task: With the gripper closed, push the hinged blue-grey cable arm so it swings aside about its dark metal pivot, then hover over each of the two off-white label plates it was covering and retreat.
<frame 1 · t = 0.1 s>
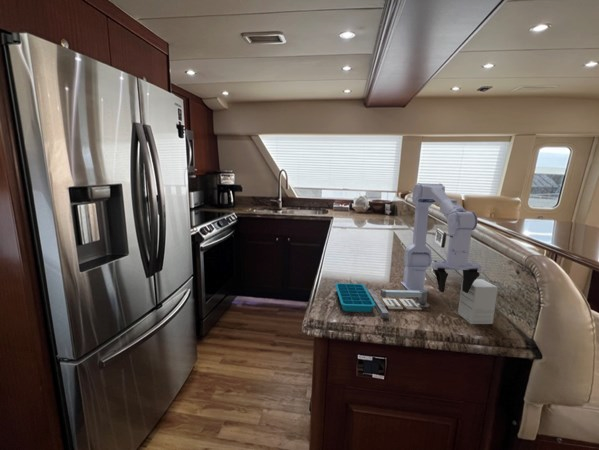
hand: (453, 291, 89), 10 cm above the worktop, fingers open, 7 cm apart
ice cube tray: (353, 301, 104), on the worktop
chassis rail: (376, 304, 101), on the worktop
pivot base: (422, 304, 102), on the worktop
psu label 1: (392, 304, 102), on the worktop
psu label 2: (409, 304, 102), on the worktop
cable arm: (403, 296, 102), point 3 cm above the worktop, hinge at 0.0°
supplement box: (474, 319, 92), on the worktop
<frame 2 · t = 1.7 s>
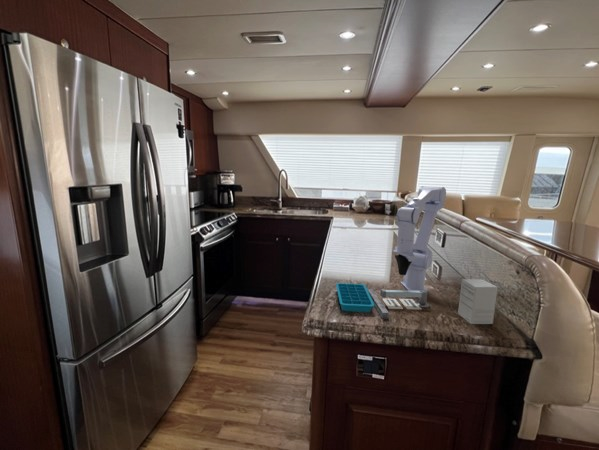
hand: (402, 274, 106), 9 cm above the worktop, fingers closed
nothing on the worktop moved.
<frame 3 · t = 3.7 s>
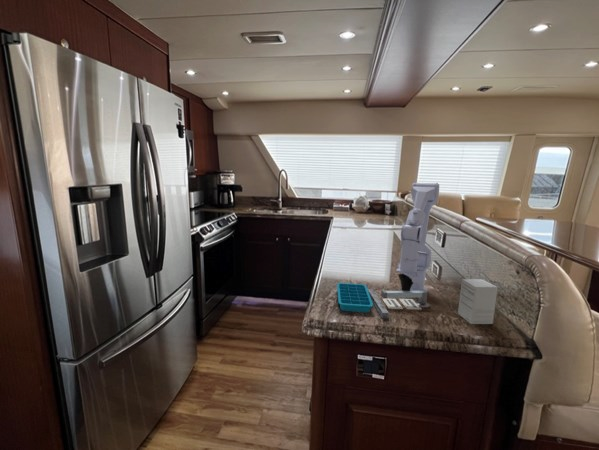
hand: (405, 294, 102), 4 cm above the worktop, fingers closed, pressing on cable arm
cable arm: (404, 297, 101), point 3 cm above the worktop, hinge at 4.0°, touching gripper
everything else where it was.
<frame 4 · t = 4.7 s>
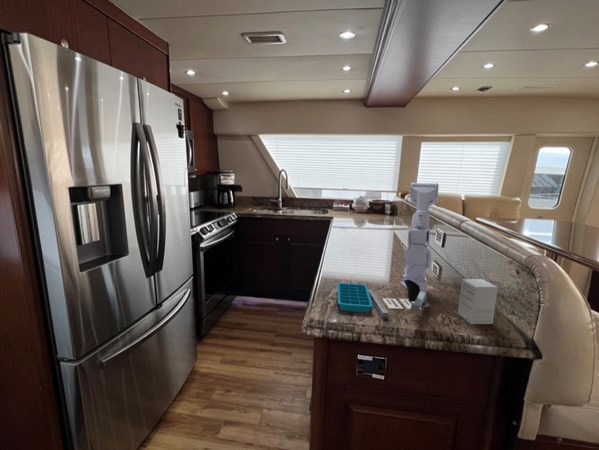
hand: (412, 301, 97), 3 cm above the worktop, fingers closed, pressing on cable arm
cable arm: (419, 303, 96), point 3 cm above the worktop, hinge at 56.4°, touching gripper
everything else where it was.
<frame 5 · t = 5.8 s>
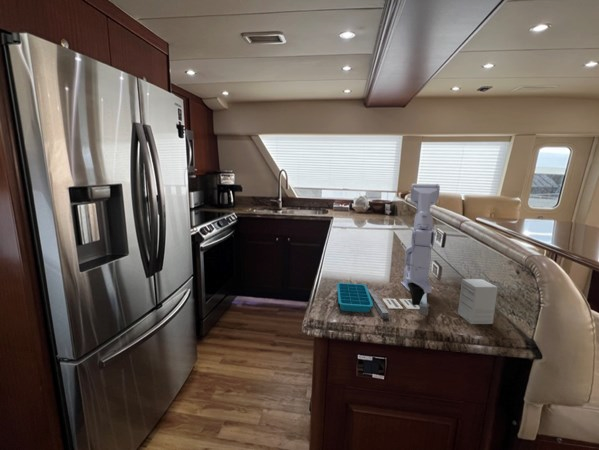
hand: (415, 304, 94), 4 cm above the worktop, fingers closed
cable arm: (423, 304, 95), point 3 cm above the worktop, hinge at 66.2°, touching gripper
everything else where it was.
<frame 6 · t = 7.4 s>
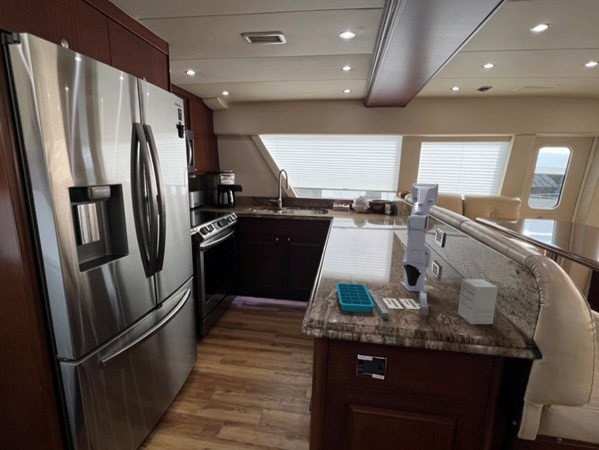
hand: (411, 285, 100), 7 cm above the worktop, fingers closed
cable arm: (423, 304, 95), point 3 cm above the worktop, hinge at 66.4°
everything else where it was.
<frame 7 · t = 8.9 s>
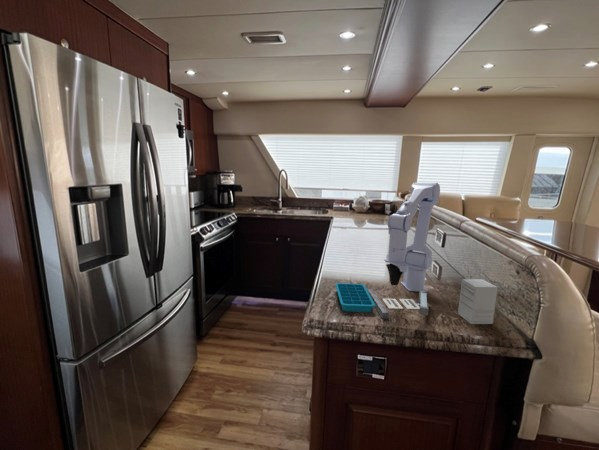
hand: (394, 284, 101), 7 cm above the worktop, fingers closed
nothing on the worktop moved.
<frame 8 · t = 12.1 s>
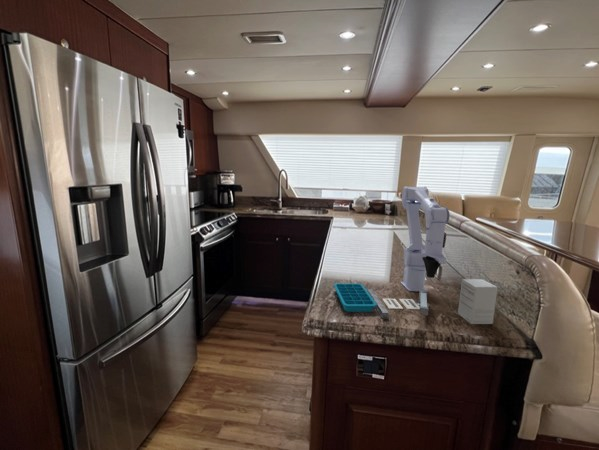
hand: (430, 277, 102), 10 cm above the worktop, fingers closed
nothing on the worktop moved.
at the end: cable arm at +66° (first picture: +0°); cable arm touching nothing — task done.
